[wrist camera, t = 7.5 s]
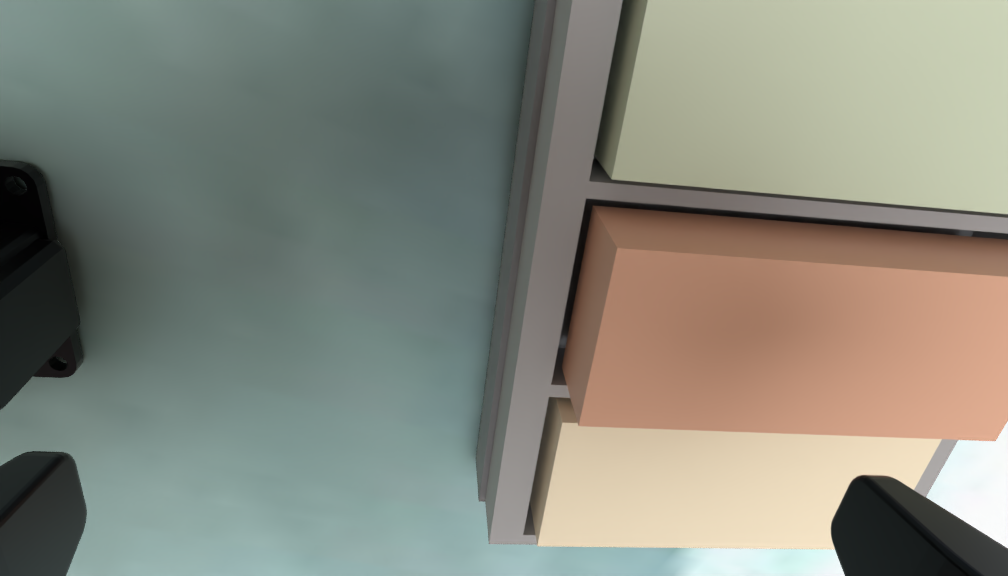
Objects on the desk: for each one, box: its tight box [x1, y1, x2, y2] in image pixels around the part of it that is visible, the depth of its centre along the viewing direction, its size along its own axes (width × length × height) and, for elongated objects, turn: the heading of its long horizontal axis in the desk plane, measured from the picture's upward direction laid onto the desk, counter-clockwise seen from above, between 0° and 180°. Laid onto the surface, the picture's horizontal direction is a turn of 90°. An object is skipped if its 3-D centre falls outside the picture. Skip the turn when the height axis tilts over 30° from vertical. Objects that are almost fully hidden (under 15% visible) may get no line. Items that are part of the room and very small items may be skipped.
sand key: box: [530, 397, 942, 549], centre depth 20 cm, size 11×5×2 cm, turn 83°
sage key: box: [594, 0, 1008, 214], centre depth 15 cm, size 11×5×2 cm, turn 83°
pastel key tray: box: [476, 0, 1008, 544], centre depth 17 cm, size 14×23×4 cm, turn 173°
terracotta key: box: [562, 206, 1008, 441], centre depth 16 cm, size 11×5×2 cm, turn 83°
